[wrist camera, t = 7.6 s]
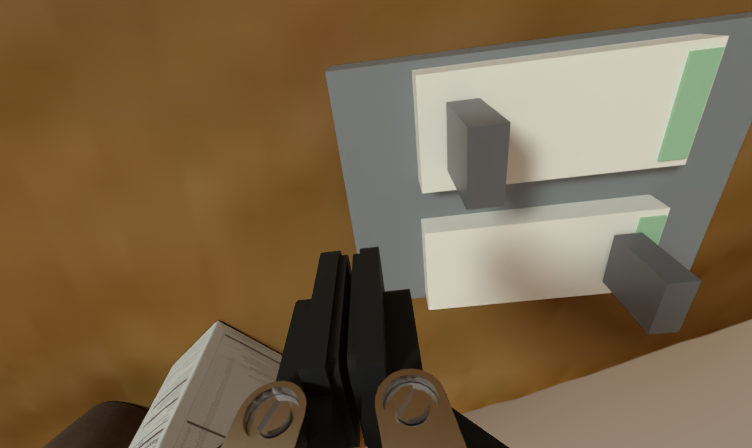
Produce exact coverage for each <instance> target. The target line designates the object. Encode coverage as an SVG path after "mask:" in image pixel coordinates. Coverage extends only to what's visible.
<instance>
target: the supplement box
mask: <svg viewBox="0 0 752 448" xmlns="http://www.w3.org/2000/svg"><path fill="white" fill-rule="evenodd" d="M281 358H282V355H280V354H278V353H277V352H275V351H273V350H271V349H269V348H268V347H266V346H264V345H262V344H260V343H258V342H257V341H255V340H253V339H251V338H249V337H247V336H245V335H244V334H242V333H240V332H238V331H236V330H234V329H232V328H231V327H229V326H227V325H225V324H223V323H222V322H220V321H217V322H216V323H215V324H214V325H213V326H212V327H211V328H210V329H209V330H208V331H207V332H206V333H205V334H204V335H203V336H202V337H201V338H200V339H199V340H198V341H197V342H196V343H195V344H194V345H193V346H192V347H191V348H190V349H189V350H188V351H187V352H186V353H185V354H184V355H183V356H182V357H181V358H180V359H179V360H178V361H177V362H176V363H175V364H174V365H173V366H172V368H171V370H170V372H169V374H168V376H167V378H166V379H165V381H164V383H163V385H162V387H161V389H160V391H159V392H158V394H157V396H156V398H155V400H154V402H153V404H152V405H151V407H150V409H149V411H148V413H147V415H146V416H145V418H144V420H143V422H142V424H141V426H140V428H139V429H138V431H137V433H136V435H135V437H134V439H133V441H132V442H131V444H130V446H129V448H217V447H219V446H220V445H221V444H222V443H223V442H224V439H225V437H226V435H227V433H228V431H229V429H230V427H231V425H232V423H233V421H234V419H235V416H236V414H237V412H238V410H239V409H240V407H241V405H242V404H243V402H244V401H245V400H246V399H247V398H248V397H249V396H250V395H251V394H252V393H253V392H254V391H255V390H257V389H258V388H260V387H262V386H263V385H266V384H269V383H271V382H276V378H277V374H278V370H279V366H280V362H281Z"/></svg>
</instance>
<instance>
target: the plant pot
mask: <svg viewBox="0 0 752 448" xmlns="http://www.w3.org/2000/svg"><path fill="white" fill-rule="evenodd" d="M147 413H148V412H146V411H144V410H143V409H141V408H139V407H136V406H134V405H130V404H126V403H121V402H106V403H101V404H99V405H96V406H95V407H93V408H92V409H91V410H89V411H88V412H87V413H85V414H84V415H83V416H81V417H80V418H79V419H77V420H76V421H75V422H74V423H72V424H71V425H70V426H69V427H67V428H66V429H65V430H64V431H62V432H61V433H60V434H59V435H57V436H56V437H55V438H54V439H53V440H51V441H50V442H49V443H48V444H47V445H45V446H44V447H43V448H129V446H130V444H131V442H132V441H133V439H134V437H135V435H136V433H137V431H138V429H139V428H140V426H141V424H142V422H143V420H144V418H145V416H146V415H147Z"/></svg>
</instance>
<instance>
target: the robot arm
mask: <svg viewBox="0 0 752 448" xmlns="http://www.w3.org/2000/svg"><path fill="white" fill-rule="evenodd" d="M360 425H361V429H362V433H363V437H364V441H365V445H366V446H368V448H509V447H507V446H505V445H504V444H503V443H501V442H500V441H499V440H497V439H496V438H494V437H493V436H492V435H490V434H489V433H487V432H486V431H484V430H483V429H482V428H480V427H479V426H477V425H476V424H474V423H473V422H472V421H470V420H469V419H467V418H466V417H464V416H463V415H462V414H460V413H459V412H457V411H456V410H455V409H453V408H452V407H451V405H450V402H449V400H448V397H447V394H446V392H445V390H444V388H443V386H442V385H441V383H440V382H439V381H438V380H437V379H436V378H435V377H434V376H433V375H431V374H429V373H427V372H425V371H423V370H422V363H421V357H420V350H419V344H418V338H417V331H416V325H415V318H414V312H413V306H412V299H411V293H410V289H404V290H394V291H385V288H384V281H383V273H382V266H381V259H380V251H379V247H370V248H361V249H360V254H353V264H352V272H351V267H350V261H349V257H348V255H342V254H341V251H333V252H324V253H321V255H320V259H319V264H318V269H317V274H316V279H315V284H314V289H313V294H312V299H307V300H298V301H297V302H296V304H295V307H294V311H293V315H292V319H291V323H290V327H289V331H288V335H287V339H286V343H285V347H284V351H283V354H282V358H281V362H280V366H279V370H278V374H277V378H276V382H271V383H269V384H266V385H263V386H262V387H260V388H258V389H257V390H255V391H254V392H253V393H252V394H251V395H250V396H249V397H248V398H247V399H246V400H245V401H244V402H243V404H242V405H241V407H240V409H239V410H238V412H237V414H236V416H235V419H234V421H233V423H232V425H231V427H230V429H229V431H228V433H227V435H226V437H225V439H224V442H223V443H222V444H221V445H220V446H219V447H217V448H352V447H359V445H360Z"/></svg>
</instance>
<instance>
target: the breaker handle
mask: <svg viewBox="0 0 752 448" xmlns="http://www.w3.org/2000/svg"><path fill="white" fill-rule="evenodd" d="M602 282H603V283H604V284H605V285H606V286H607V287H608V289H609V290H610V291H611V292H612V293H613V294H614V296H615V297H616V298H617V299H618V300H619V301H620V303H621V304H622V305H623V306H624V307H625V308H626V310H627V311H628V312H629V313H630V314H631V315H632V317H633V318H634V319H635V320H636V321H637V322H638V324H639V325H640V326H641V327H642V328H643V329H644V331H645V332H646V333H647V334H648V335H652V334H663V333H675V332H679V331H680V329H681V326H682V324H683V322H684V320H685V317H686V315H687V313H688V310H689V308H690V306H691V304H692V301H693V299H694V297H695V295H696V292H697V290H698V288H699V286H700V283H701V280H700V279H699V278H698V277H696V276H695V275H694V274H693V273H692V272H690V271H689V270H688V269H687V268H685V267H684V266H683V265H682V264H680V263H679V262H678V261H677V260H676V259H674V258H673V257H672V256H671V255H669V254H668V253H667V252H666V251H664V250H663V249H662V248H661V247H660V246H658V245H657V244H656V243H655V242H653V241H652V240H651V239H650V238H648V237H647V236H646V235H645V234H644V233H642V232H641V233H631V234H621V235H614V239H613V243H612V247H611V250H610V254H609V258H608V262H607V266H606V269H605V273H604V277H603V281H602Z"/></svg>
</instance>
